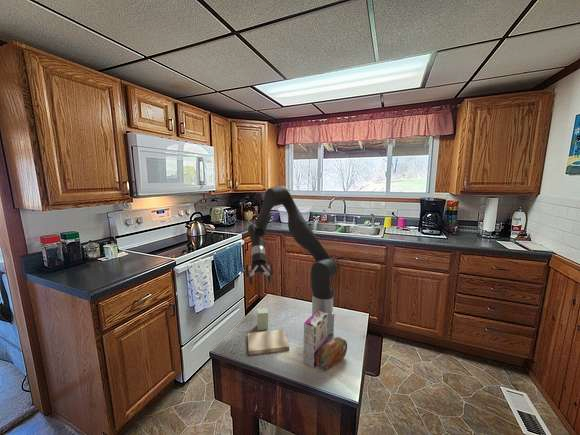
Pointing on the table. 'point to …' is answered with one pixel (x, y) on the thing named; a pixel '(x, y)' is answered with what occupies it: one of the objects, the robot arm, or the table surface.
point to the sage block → (262, 319)
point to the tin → (331, 353)
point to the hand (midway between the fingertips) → (260, 284)
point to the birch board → (267, 342)
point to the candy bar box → (315, 336)
